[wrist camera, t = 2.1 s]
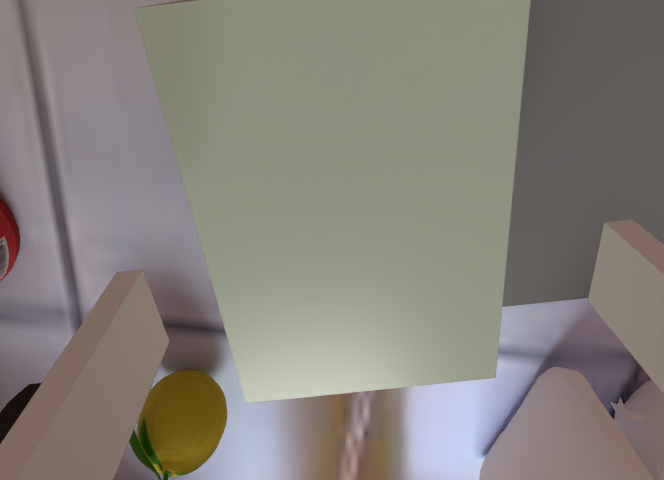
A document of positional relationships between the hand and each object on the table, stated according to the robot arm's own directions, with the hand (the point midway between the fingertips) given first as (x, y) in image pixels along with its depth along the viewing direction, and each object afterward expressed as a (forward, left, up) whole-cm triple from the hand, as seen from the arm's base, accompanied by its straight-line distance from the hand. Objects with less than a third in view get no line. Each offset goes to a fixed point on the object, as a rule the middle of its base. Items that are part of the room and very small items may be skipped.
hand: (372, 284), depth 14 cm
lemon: (-12, -16, -14) cm, 25 cm away
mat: (+15, -2, -14) cm, 21 cm away
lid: (0, 0, -8) cm, 8 cm away
